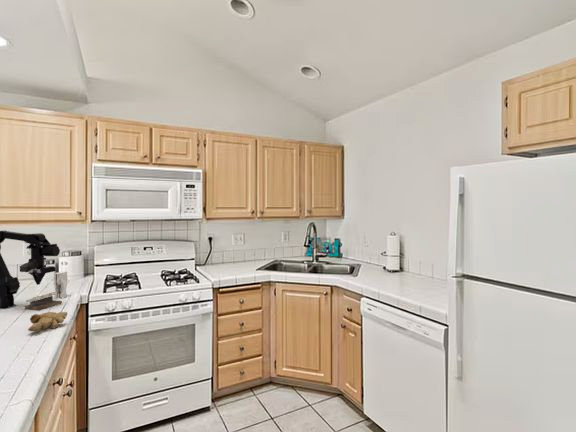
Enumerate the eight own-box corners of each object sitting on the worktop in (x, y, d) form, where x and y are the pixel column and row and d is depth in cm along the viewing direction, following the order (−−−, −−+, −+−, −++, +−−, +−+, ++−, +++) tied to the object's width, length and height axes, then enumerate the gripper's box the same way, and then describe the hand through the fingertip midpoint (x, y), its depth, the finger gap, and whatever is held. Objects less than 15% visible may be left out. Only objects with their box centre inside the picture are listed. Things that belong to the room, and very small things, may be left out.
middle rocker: (34, 300, 181) (34, 297, 181) (39, 298, 184) (39, 296, 184) (44, 297, 180) (43, 295, 180) (49, 296, 182) (48, 293, 182)
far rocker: (42, 298, 186) (42, 295, 186) (47, 296, 188) (46, 294, 189) (52, 295, 184) (51, 292, 184) (56, 293, 187) (56, 291, 187)
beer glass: (51, 299, 196) (51, 274, 196) (56, 296, 203) (56, 272, 202) (65, 298, 198) (64, 273, 197) (69, 295, 204) (69, 271, 204)
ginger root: (60, 315, 162) (60, 301, 160) (71, 331, 152) (72, 315, 150) (20, 325, 150) (20, 309, 148) (29, 342, 140) (29, 325, 138)
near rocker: (26, 302, 177) (25, 300, 177) (31, 301, 180) (31, 298, 180) (36, 299, 175) (35, 296, 175) (41, 298, 178) (40, 295, 178)
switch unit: (25, 309, 177) (24, 301, 177) (48, 302, 189) (48, 295, 189) (39, 310, 174) (39, 303, 174) (61, 303, 187) (61, 296, 187)
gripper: (8, 258, 175) (9, 287, 176) (36, 259, 171) (37, 289, 171) (29, 255, 186) (30, 282, 187) (56, 256, 182) (56, 284, 182)
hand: (38, 284), depth 181 cm, fingers closed
